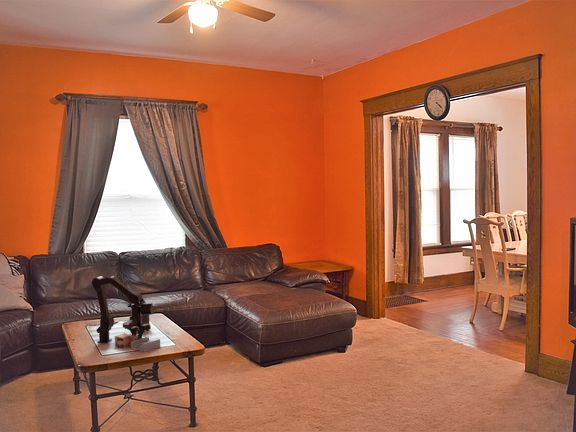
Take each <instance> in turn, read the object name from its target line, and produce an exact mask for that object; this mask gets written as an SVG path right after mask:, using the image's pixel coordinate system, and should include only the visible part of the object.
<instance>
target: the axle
mask: <svg viewBox="0 0 576 432" xmlns="http://www.w3.org/2000/svg"><path fill="white" fill-rule="evenodd" d="M135 340H138V334H136V336H135ZM116 345H117V346H116V347H117V348H119V349H120V348H123V340H120V341H117V343H116Z"/></svg>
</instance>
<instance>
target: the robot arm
mask: <svg viewBox="0 0 576 432" xmlns="http://www.w3.org/2000/svg"><path fill="white" fill-rule="evenodd" d="M108 284H110V285H112V286H113V287H114V288H115V289H117V290H118V291H119V292H120V293H122V294H123V295H124V296H125V298H126V299H127V301H128V302H129V305H128V306H127V308H130V311H131V312H130V316H129V319H128V320H126V321H125V322H123V323H122V328H124V329H125V330H128V331H130V335H135V336H137V335H138V339H141V338H143V335H144V334H145V332H146V331H145V330H147V331H149V330H151V328H152V326H151V323H149V324H143V322H141V318H142V317H143V316H142V315H141V313H142V314H143V315H149V316H150V315H154V312H155V306H154V304H153V302H148V303H147V302H146V301H145V300H144V298H143V295H142V294H141V293H140V292H138V291H136V290H133V289H132V288H129V287H128V286H127V285H126V284H124V283H123V282H122V281H120V280H119V279H118V278H117V277H116V276H115V275H112V276H106V277H104V276H97V277H95V278H93V279H91V285H92V288H93V290H94V291H95V292H96V296H97V301H98V306H99V311H100V320H99V326H98V327H97V328H96V333H97V334H99V335H98V337H99V339H98V341H96V343H97V344H99V343H100V344H108V343H109V342H111V341H112V339H110V331H111V330H112V328H113V326H114V325H115V318H114V315H111V314H110V311H109V307H108V306H109V305H108V301H107V295H106V285H108ZM141 324H143V325H141ZM137 328H139V329H138V330H137Z"/></svg>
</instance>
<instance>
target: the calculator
mask: <svg viewBox="0 0 576 432" xmlns="http://www.w3.org/2000/svg"><path fill="white" fill-rule="evenodd" d="M141 315H142V316H143V317H142V318H141V322H143V324H150V315H143V314H142V313H141ZM143 324H141V325H143ZM138 329H139V328H137V330H138ZM146 331H147V332H148V330H145V332H146Z"/></svg>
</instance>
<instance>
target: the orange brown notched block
mask: <svg viewBox="0 0 576 432" xmlns="http://www.w3.org/2000/svg"><path fill="white" fill-rule="evenodd" d="M120 340H123V347H122V349H128V348H131V341H135V335H132V334H131V333H130V334H129V333H121V334H116V335H115V336H114V347H117V345H116V343H117V341H120Z"/></svg>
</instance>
